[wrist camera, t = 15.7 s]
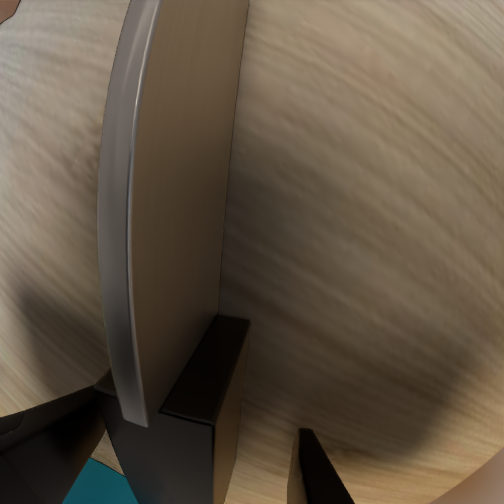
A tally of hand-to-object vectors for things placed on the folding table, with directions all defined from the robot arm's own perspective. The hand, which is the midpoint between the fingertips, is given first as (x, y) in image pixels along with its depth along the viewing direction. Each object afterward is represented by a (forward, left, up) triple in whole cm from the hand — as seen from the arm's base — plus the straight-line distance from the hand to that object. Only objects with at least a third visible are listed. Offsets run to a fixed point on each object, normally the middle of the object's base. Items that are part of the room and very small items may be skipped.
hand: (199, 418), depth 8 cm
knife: (0, -5, -1) cm, 5 cm away
